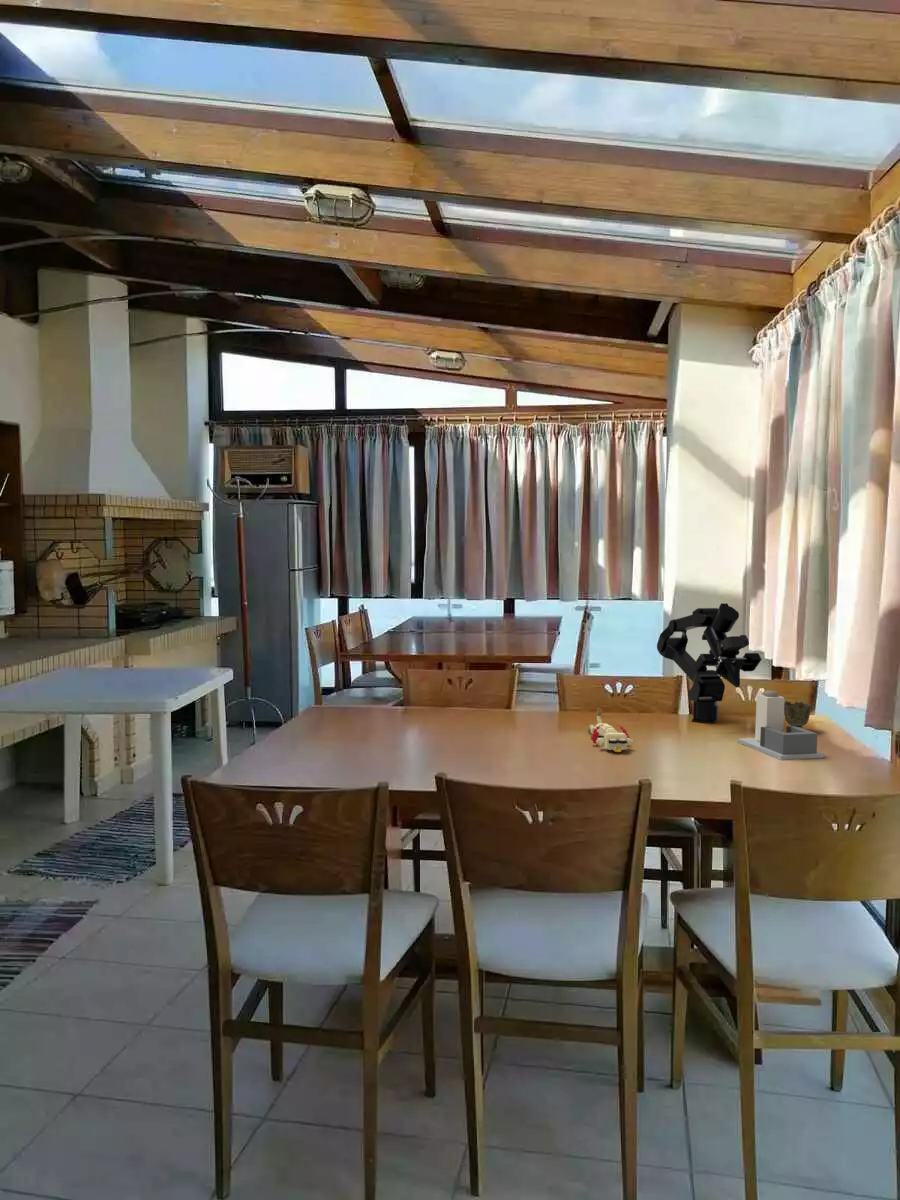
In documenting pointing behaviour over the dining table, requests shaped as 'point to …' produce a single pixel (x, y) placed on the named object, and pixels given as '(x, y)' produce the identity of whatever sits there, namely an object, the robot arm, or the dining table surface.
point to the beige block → (769, 712)
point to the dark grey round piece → (797, 713)
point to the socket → (785, 743)
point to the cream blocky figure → (609, 735)
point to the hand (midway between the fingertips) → (738, 686)
